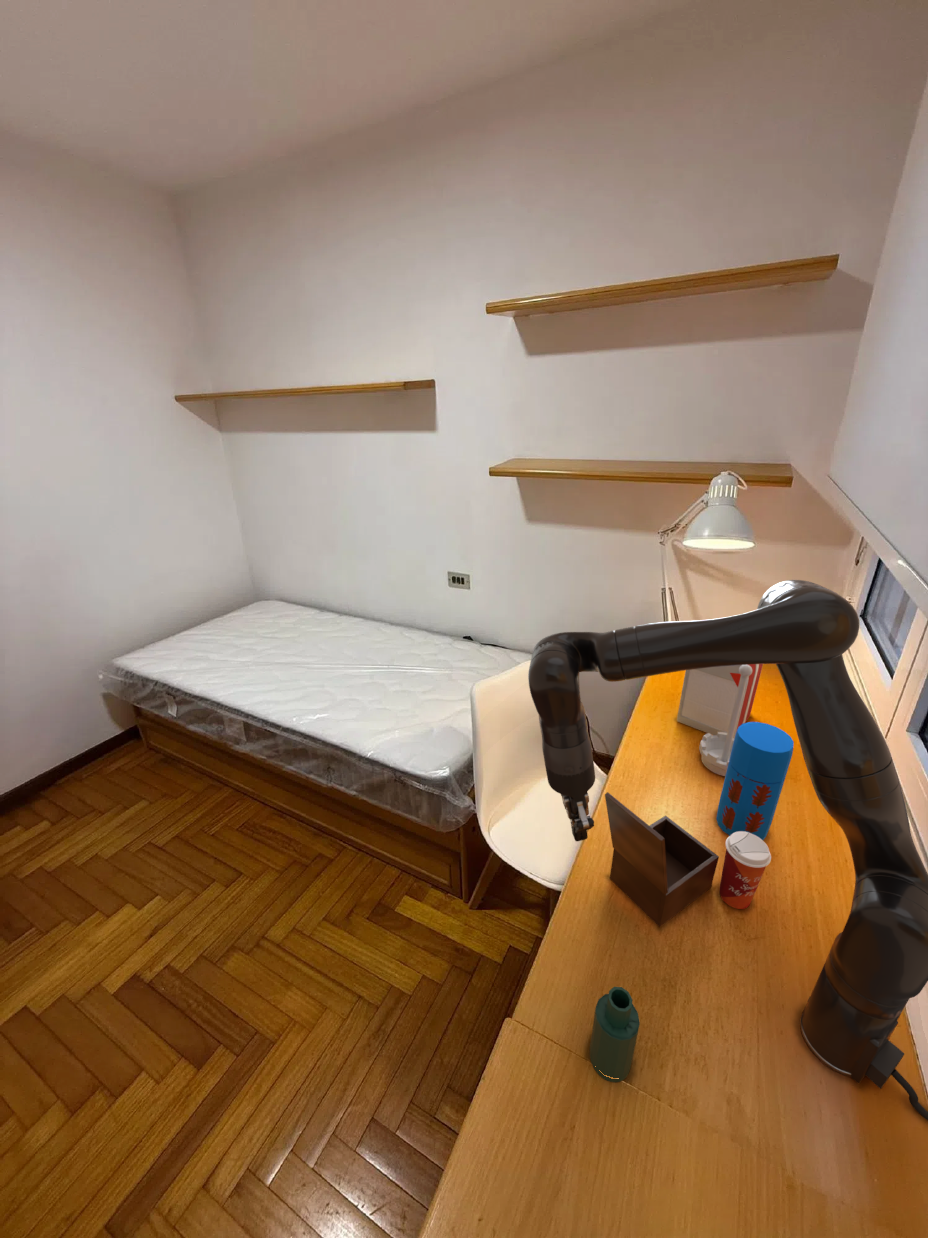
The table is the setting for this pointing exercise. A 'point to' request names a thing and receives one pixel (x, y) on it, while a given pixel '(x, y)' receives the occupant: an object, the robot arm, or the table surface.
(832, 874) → the table surface
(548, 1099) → the table surface
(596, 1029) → the bottle
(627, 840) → the lid
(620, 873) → the chest
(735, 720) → the flag stand
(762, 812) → the thermos
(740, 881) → the paper cup
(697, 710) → the toy mailbox
